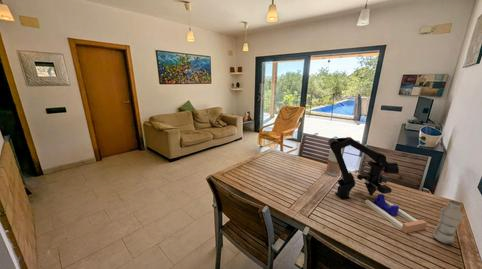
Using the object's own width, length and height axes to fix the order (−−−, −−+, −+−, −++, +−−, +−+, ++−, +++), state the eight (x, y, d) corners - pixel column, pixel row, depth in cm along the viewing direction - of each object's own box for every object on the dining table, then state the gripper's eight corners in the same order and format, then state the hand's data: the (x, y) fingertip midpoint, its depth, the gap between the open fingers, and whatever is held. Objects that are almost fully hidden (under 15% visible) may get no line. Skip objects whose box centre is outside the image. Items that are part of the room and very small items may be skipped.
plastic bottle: (428, 235, 90) (439, 199, 85) (441, 234, 91) (453, 198, 85) (443, 246, 84) (456, 208, 78) (456, 245, 84) (471, 207, 79)
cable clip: (373, 202, 114) (375, 194, 113) (380, 202, 114) (382, 194, 113) (388, 216, 103) (390, 207, 101) (396, 216, 103) (399, 207, 101)
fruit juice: (331, 177, 145) (336, 142, 137) (323, 171, 154) (327, 138, 146) (342, 175, 147) (347, 141, 139) (333, 170, 155) (338, 137, 148)
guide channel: (405, 233, 91) (407, 226, 90) (364, 203, 114) (365, 197, 113) (425, 229, 94) (427, 222, 93) (381, 200, 116) (382, 194, 115)
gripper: (402, 178, 105) (396, 202, 109) (373, 164, 123) (368, 185, 127) (385, 180, 103) (380, 205, 107) (358, 166, 120) (354, 187, 125)
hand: (370, 195), depth 117 cm, fingers closed
